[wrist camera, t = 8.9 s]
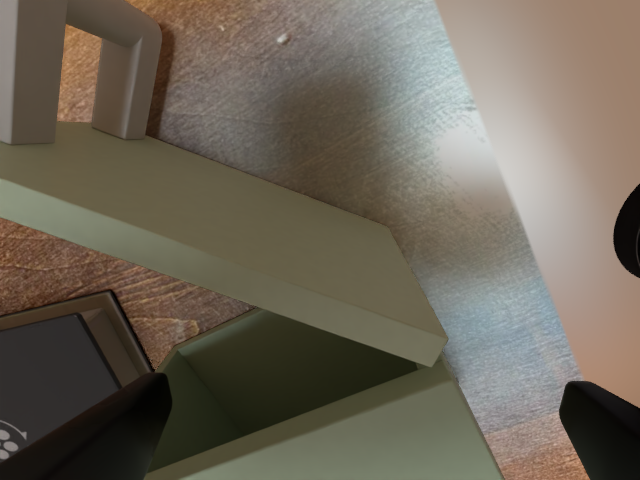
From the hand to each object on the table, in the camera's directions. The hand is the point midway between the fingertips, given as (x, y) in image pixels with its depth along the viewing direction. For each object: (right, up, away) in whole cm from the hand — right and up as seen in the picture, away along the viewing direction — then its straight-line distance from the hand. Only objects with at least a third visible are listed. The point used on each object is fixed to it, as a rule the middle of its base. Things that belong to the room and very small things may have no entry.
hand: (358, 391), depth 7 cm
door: (-4, +9, +9) cm, 13 cm away
